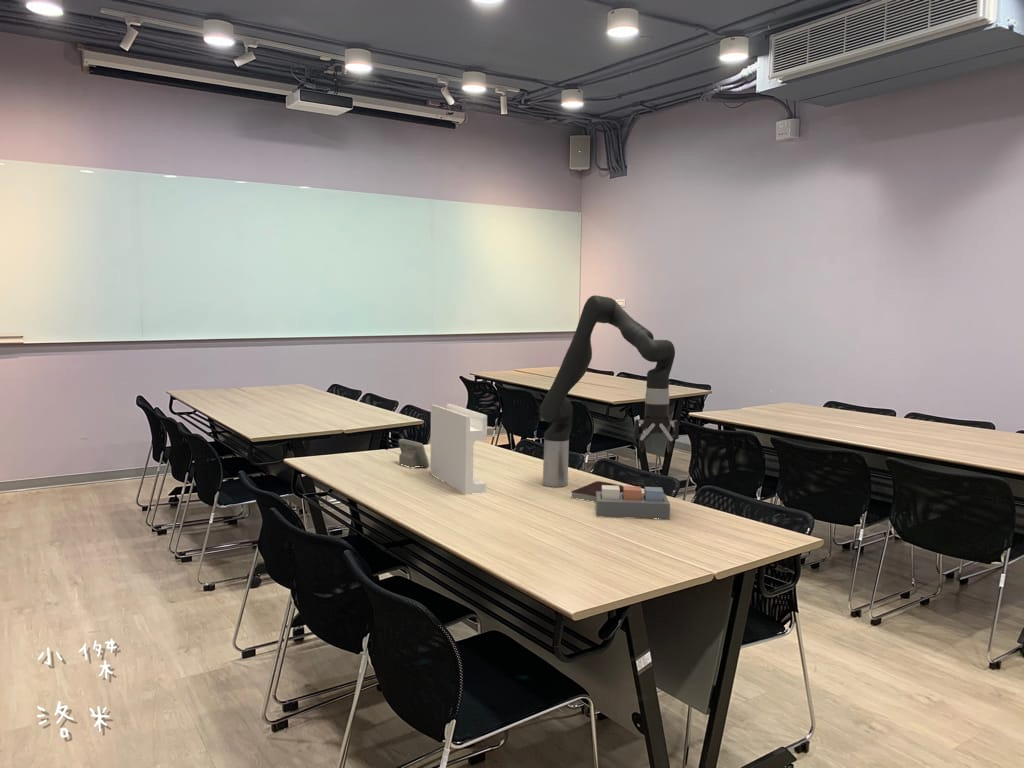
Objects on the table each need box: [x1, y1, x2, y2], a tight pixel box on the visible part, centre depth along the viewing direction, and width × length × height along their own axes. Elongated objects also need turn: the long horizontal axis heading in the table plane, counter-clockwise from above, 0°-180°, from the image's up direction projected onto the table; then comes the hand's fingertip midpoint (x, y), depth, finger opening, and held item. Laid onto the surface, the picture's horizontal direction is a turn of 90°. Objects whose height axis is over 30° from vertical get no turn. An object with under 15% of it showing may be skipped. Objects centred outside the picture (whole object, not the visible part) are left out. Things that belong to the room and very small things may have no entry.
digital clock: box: [398, 438, 430, 468], centre depth 306 cm, size 16×9×11 cm, turn 32°
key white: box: [601, 485, 620, 500], centre depth 240 cm, size 6×6×4 cm
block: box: [429, 403, 488, 495], centre depth 275 cm, size 35×8×28 cm, turn 27°
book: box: [570, 480, 624, 503], centre depth 262 cm, size 12×19×3 cm, turn 145°
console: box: [595, 491, 671, 520], centre depth 240 cm, size 23×13×5 cm, turn 85°
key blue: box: [643, 486, 665, 501], centre depth 239 cm, size 6×6×4 cm
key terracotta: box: [622, 485, 643, 500], centre depth 240 cm, size 6×6×4 cm
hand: (655, 451), depth 238 cm, fingers open, 8 cm apart
